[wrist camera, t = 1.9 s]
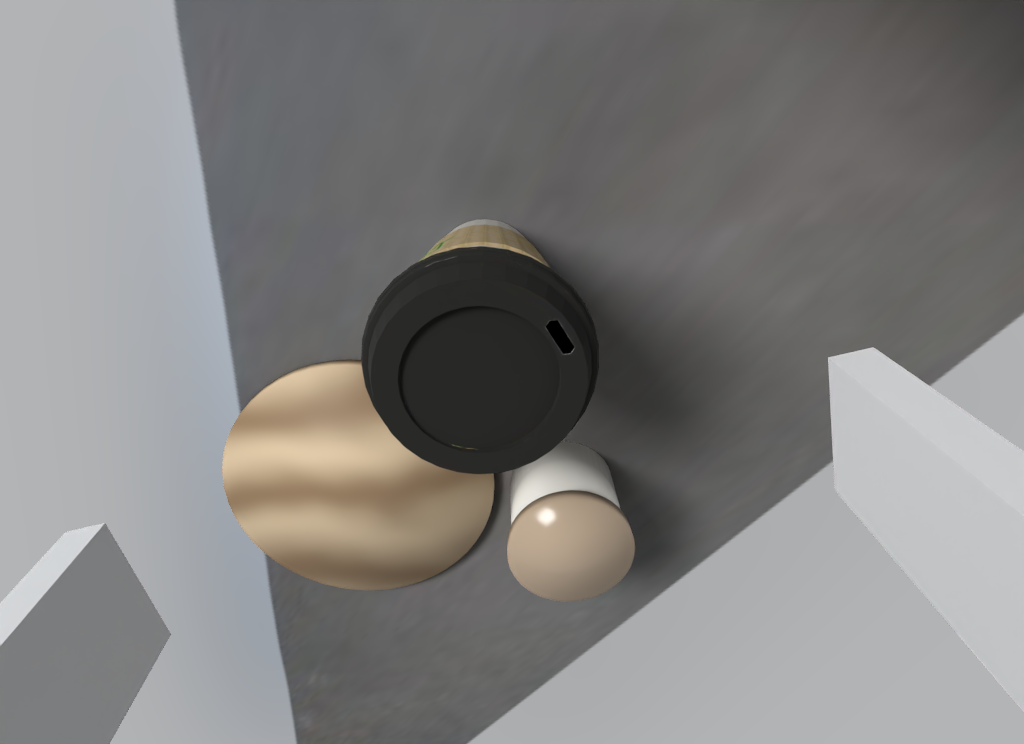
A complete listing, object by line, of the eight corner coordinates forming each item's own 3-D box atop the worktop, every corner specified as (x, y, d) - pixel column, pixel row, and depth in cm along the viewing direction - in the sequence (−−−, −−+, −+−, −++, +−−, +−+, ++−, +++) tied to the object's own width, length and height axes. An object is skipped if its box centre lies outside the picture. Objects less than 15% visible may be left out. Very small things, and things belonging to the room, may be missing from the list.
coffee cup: (367, 245, 39) (299, 346, 25) (512, 151, 37) (522, 207, 23) (461, 375, 43) (445, 524, 29) (597, 296, 41) (649, 417, 27)
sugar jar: (493, 452, 45) (492, 516, 39) (604, 426, 44) (622, 487, 38) (520, 539, 48) (524, 612, 42) (624, 516, 48) (644, 587, 41)
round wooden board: (179, 397, 43) (174, 403, 42) (451, 329, 41) (450, 334, 40) (289, 603, 50) (285, 611, 50) (522, 553, 49) (522, 560, 48)
